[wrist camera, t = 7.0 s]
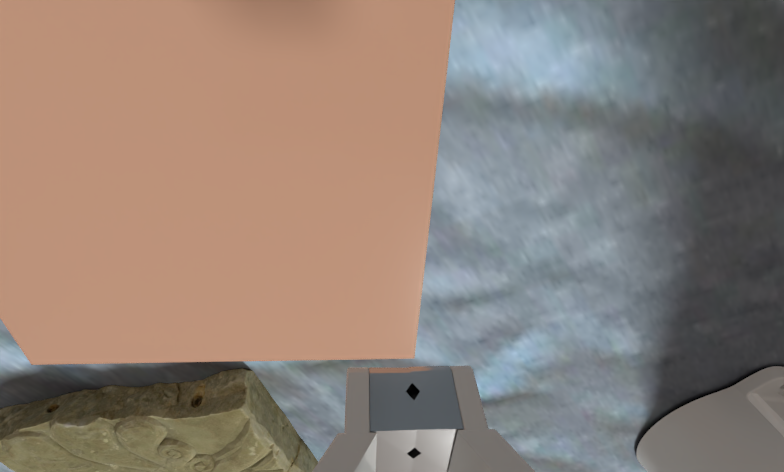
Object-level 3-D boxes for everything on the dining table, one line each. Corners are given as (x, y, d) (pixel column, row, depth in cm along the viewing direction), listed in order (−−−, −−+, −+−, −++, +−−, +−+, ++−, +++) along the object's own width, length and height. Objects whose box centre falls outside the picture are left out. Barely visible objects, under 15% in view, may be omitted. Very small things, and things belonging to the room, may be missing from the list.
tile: (456, -15, 12) (-248, -49, 11) (414, 358, 21) (31, 364, 20) (431, -25, 16) (-71, -50, 15) (405, 288, 25) (91, 289, 24)
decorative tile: (331, 475, 39) (328, 517, 37) (134, 509, 41) (117, 552, 38) (249, 346, 29) (236, 391, 26) (-11, 399, 31) (-50, 446, 28)
